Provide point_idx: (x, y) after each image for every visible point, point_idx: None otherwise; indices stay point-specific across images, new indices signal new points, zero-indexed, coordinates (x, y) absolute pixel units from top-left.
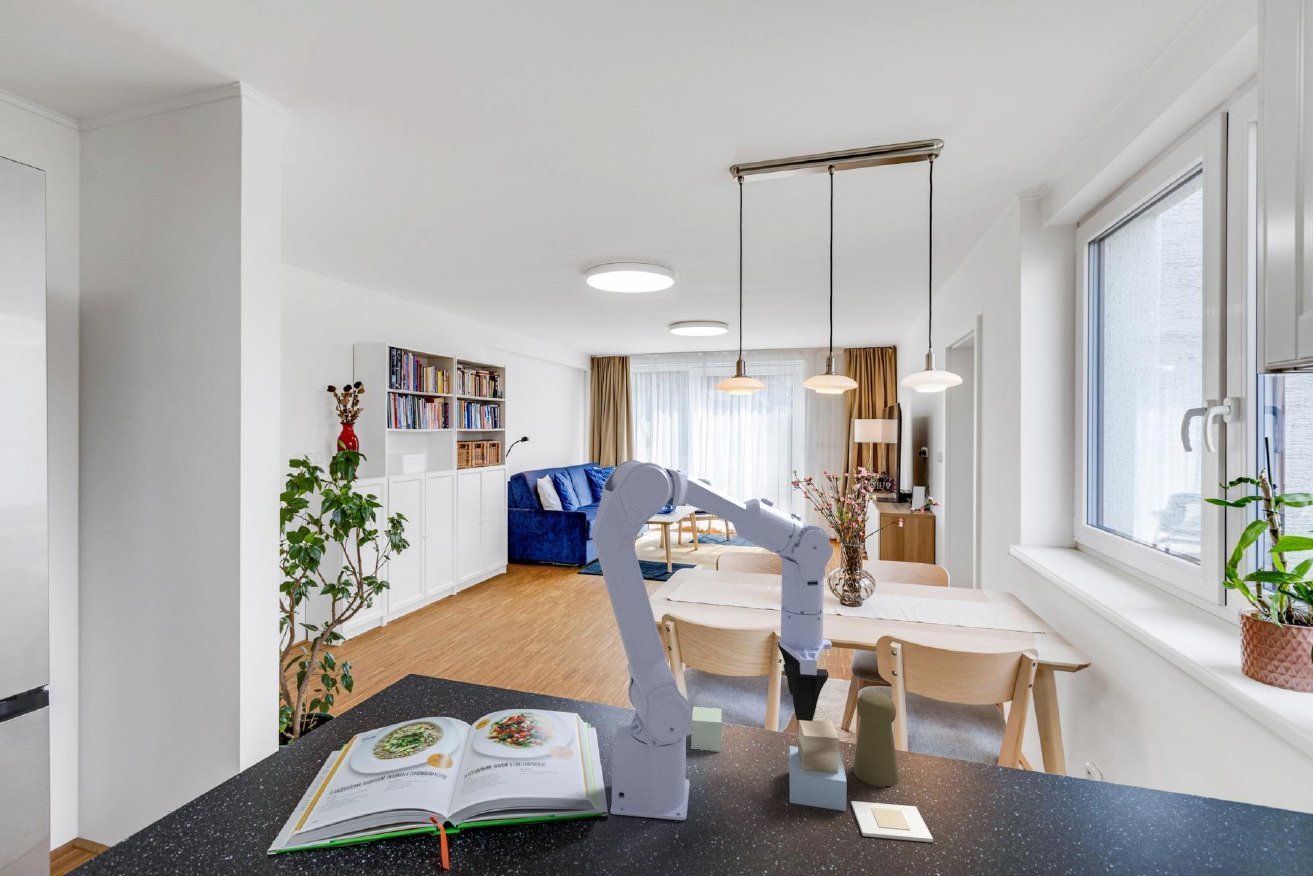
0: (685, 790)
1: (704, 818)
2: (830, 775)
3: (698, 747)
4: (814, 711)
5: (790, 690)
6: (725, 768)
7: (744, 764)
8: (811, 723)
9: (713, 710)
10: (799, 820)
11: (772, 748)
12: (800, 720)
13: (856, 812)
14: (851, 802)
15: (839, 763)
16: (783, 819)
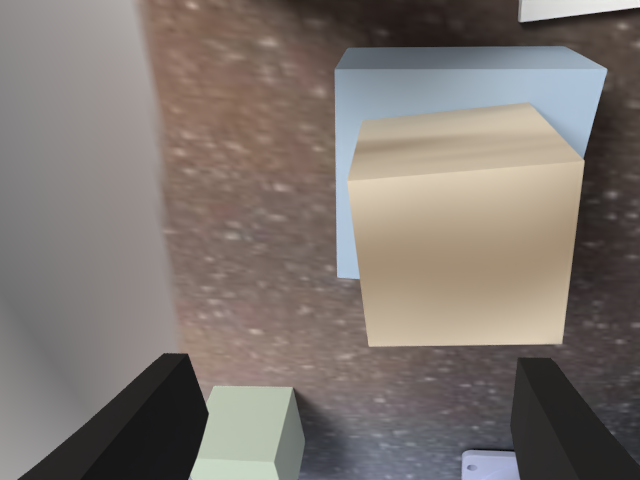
0: (513, 462)
1: (606, 421)
2: None
3: (301, 435)
4: (587, 406)
5: (201, 436)
6: (372, 379)
7: (338, 339)
8: (405, 295)
9: (204, 474)
10: (620, 211)
11: (221, 267)
12: (385, 342)
13: (603, 7)
14: (523, 21)
15: (440, 88)
16: (613, 255)
